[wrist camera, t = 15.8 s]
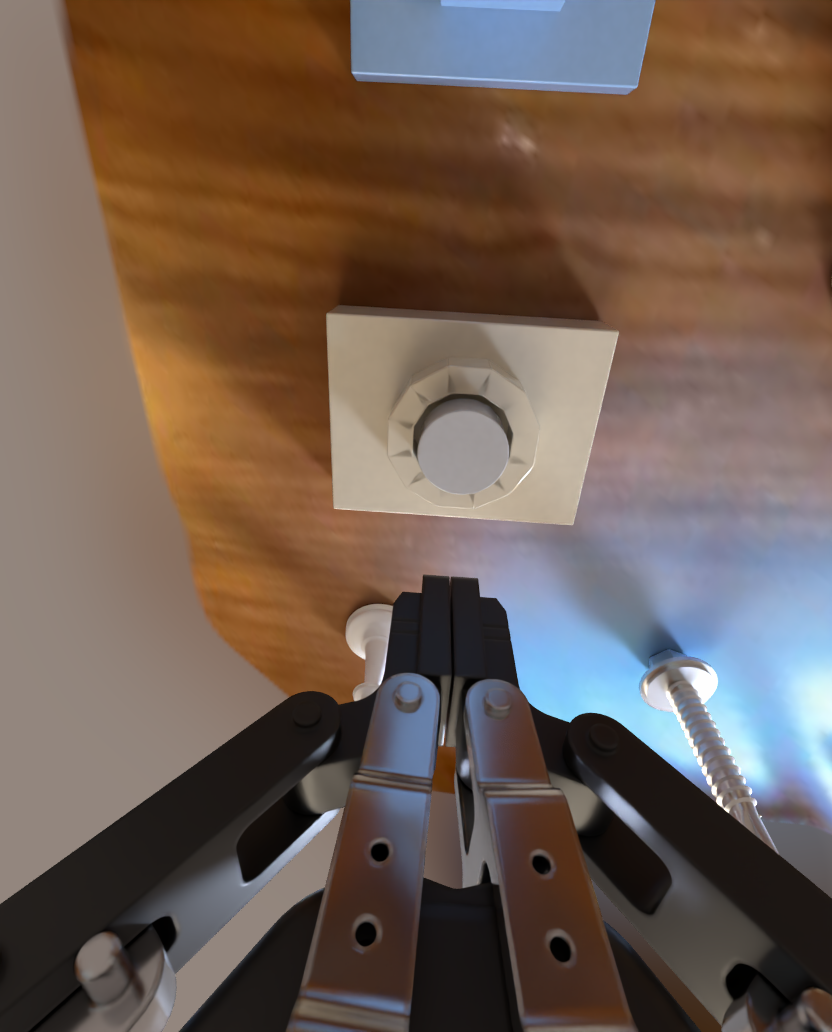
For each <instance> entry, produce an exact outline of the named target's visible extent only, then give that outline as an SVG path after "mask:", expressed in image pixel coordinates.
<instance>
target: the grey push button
mask: <svg viewBox="0 0 832 1032" xmlns="http://www.w3.org/2000/svg"><path fill="white" fill-rule="evenodd" d="M417 457H418V463H419V466H420V468H421V471H422V473H423V474H424V476H425V477H426V478H427V479H428V481H429V482H431V483H432V484H433V485H434V486H436V487H437V488H439V489H441V490H442V491H445V492H448V493H452V494H458V495H466V494H473V493H477V492H479V491H482V490H484V489H486V488H488V487H489V486H491V485H492V484H493V483H494V482H496V481H497V480H498V478H499V477H500V476H501V475H502V473H503V472H504V470H505V468H506V465H507V463H508V458H509V444H508V440H507V436H506V433H505V429H504V426H503V423H502V421H501V419H500V417H499V416H498V415H497V413H496V412H495V411H494V410H493V409H492V408H491V407H489V406H488V405H486V404H484V403H483V402H480V401H478V400H474V399H468V398H458V399H453V400H449V401H446V402H444V403H442V404H440V405H438V406H437V407H436V408H434V409H433V410H432V411H431V412H430V413H429V414H428V416H427V417H426V418H425V420H424V422H423V424H422V426H421V430H420V434H419V442H418V450H417Z"/></svg>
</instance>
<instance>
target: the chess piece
mask: <svg viewBox="0 0 832 1032" xmlns="http://www.w3.org/2000/svg"><path fill="white" fill-rule="evenodd" d="M392 610H393V606H390V605H386V604H371V605H367V606H364V607H361V608H359V609H358V610H356V611H355V612H354V613H352V615H351V616H350V617H349V619H348V621H347V624H346V640H347V643H348V645H349V647H350V648H351V650H352V651H353V652H354V653H355V654H357V655H358V656H359V657H361V658H363V659H365V681H364V683H362V684H359V685H358V686H356V687H355V689H354V691H353V697H354V701H358V700H361V699H363V698H366V697H367V696H369V695H371V694H372V693H373V692H374V691H375V690H376V689H377V688H378V687H379V686H380V684H381V683H382V679H383V675H384V672H385V664H386V656H387V649H388V641H389V633H390V626H391V618H392Z"/></svg>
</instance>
